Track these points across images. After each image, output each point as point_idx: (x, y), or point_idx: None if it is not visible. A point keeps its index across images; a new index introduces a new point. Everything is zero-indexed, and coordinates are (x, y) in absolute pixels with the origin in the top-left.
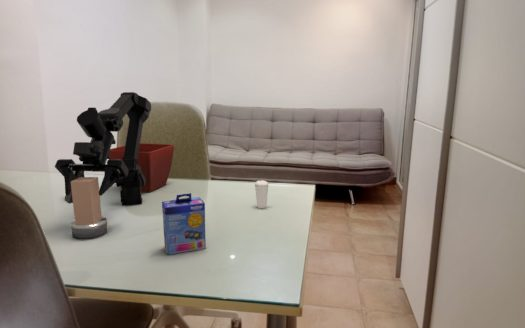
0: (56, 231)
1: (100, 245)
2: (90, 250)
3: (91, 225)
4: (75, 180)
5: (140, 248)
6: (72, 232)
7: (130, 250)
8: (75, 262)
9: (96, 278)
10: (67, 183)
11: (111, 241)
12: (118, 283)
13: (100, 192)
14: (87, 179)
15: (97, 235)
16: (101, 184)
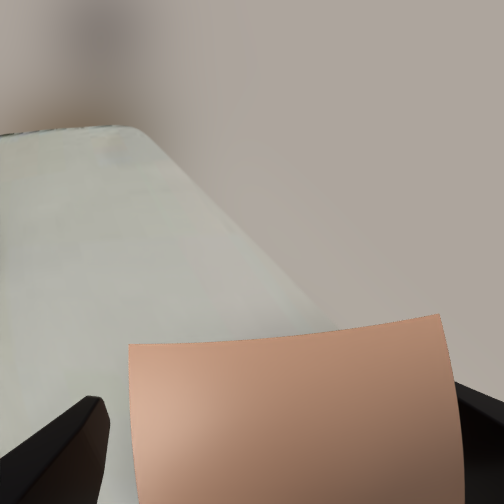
0: None
1: (140, 316)
2: (158, 274)
3: None
4: (421, 387)
5: (16, 292)
6: None
7: (38, 278)
8: (167, 198)
9: (92, 146)
10: (500, 416)
11: (114, 354)
12: (52, 140)
13: (80, 400)
14: (255, 493)
15: None
16: (51, 455)
